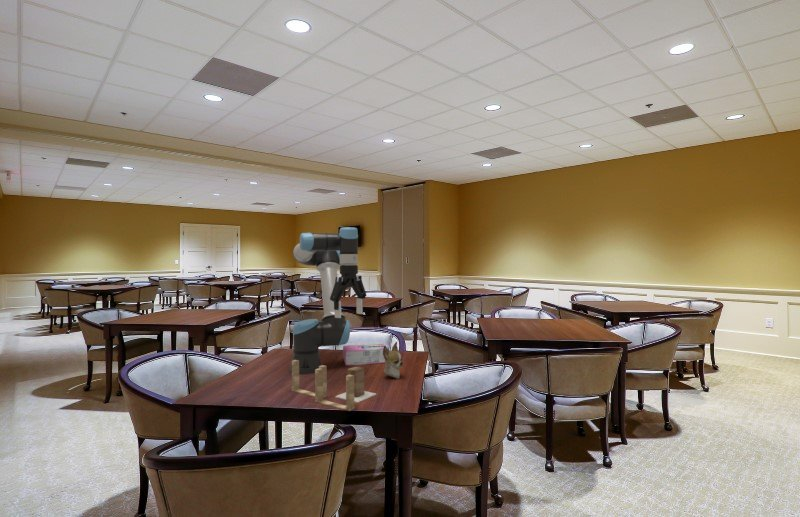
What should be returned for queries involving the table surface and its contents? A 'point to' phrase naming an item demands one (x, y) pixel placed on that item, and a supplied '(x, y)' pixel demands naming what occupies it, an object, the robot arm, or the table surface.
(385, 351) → the ceramic sculpture
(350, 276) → the robot arm
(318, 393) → the gate
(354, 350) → the gum box
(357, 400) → the pad
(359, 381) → the walnut block
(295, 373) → the gate
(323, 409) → the table surface
